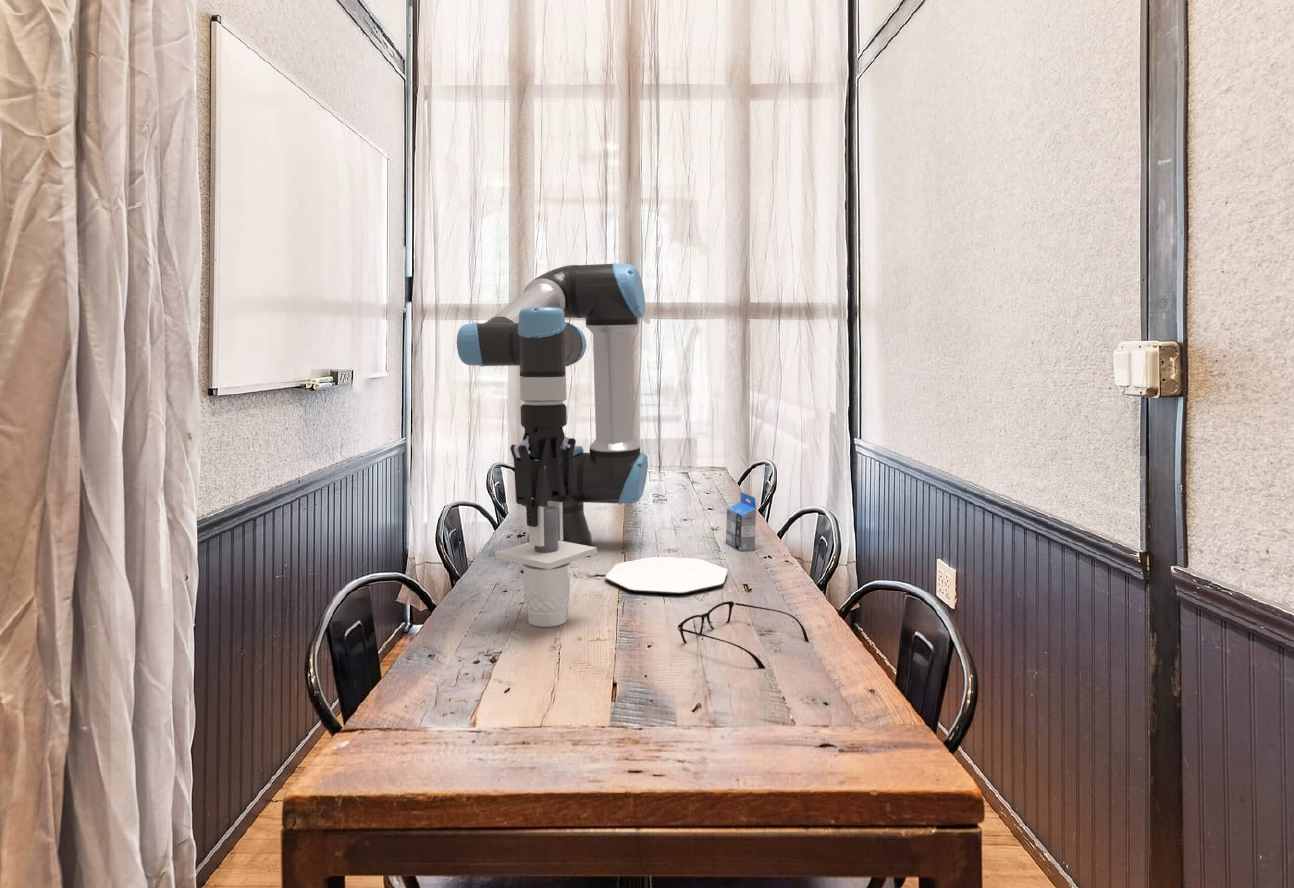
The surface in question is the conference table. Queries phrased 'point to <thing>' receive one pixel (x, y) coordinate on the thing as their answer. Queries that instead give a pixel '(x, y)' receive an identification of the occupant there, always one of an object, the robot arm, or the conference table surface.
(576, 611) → the conference table surface
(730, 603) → the eyeglasses
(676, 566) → the plate
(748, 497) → the label tape box
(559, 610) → the white cup
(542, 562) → the lid
